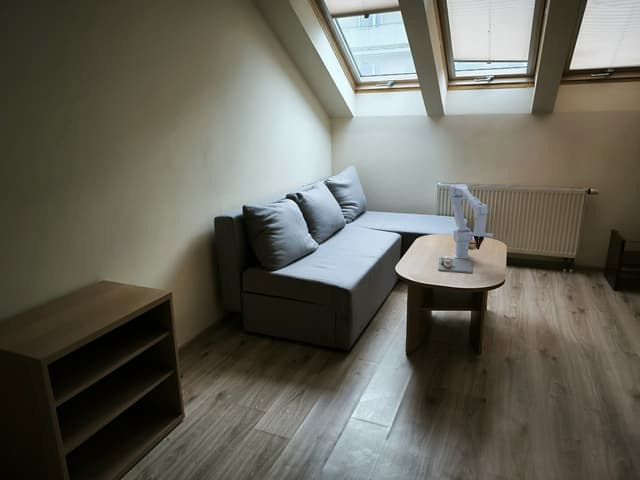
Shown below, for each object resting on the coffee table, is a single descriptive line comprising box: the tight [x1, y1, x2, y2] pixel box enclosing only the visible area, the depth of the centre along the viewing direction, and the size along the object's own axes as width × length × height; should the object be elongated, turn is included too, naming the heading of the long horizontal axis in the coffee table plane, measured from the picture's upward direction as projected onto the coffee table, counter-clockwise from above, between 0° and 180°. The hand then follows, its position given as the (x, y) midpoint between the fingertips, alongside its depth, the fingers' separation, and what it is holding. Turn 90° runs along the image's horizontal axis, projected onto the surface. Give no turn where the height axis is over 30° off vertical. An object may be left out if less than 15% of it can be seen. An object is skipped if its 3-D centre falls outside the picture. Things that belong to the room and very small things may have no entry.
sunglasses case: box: [468, 238, 479, 250], centre depth 295 cm, size 18×7×7 cm, turn 152°
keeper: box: [440, 255, 454, 265], centre depth 256 cm, size 3×6×4 cm, turn 74°
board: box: [437, 257, 473, 274], centre depth 257 cm, size 21×18×1 cm
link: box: [444, 254, 452, 268], centre depth 258 cm, size 18×4×3 cm, turn 164°
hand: (477, 249), depth 256 cm, fingers closed
